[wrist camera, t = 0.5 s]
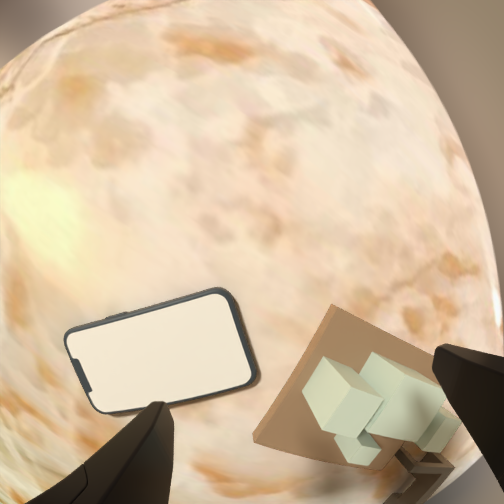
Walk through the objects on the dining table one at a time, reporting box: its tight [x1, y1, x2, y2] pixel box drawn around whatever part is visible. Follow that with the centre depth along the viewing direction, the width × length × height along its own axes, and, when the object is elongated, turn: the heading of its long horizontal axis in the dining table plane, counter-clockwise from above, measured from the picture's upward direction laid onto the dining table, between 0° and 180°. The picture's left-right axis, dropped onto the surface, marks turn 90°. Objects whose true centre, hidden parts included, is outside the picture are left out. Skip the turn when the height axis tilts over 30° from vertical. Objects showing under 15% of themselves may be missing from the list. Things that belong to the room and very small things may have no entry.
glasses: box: [383, 446, 455, 504], centre depth 22 cm, size 9×12×4 cm
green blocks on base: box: [253, 304, 462, 471], centre depth 20 cm, size 14×16×8 cm
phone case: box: [64, 287, 257, 414], centre depth 22 cm, size 9×2×16 cm
